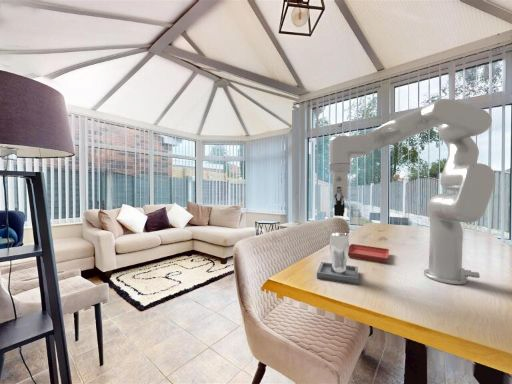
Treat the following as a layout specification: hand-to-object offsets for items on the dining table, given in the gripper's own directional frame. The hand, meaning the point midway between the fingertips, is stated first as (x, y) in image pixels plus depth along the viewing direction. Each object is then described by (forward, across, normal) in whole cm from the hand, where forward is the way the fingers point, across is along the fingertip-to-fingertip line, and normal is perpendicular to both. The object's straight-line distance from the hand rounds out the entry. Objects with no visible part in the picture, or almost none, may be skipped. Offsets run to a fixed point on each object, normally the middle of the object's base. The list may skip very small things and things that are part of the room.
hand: (339, 214), depth 87 cm
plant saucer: (+24, +32, -12) cm, 42 cm away
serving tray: (+23, 0, 0) cm, 23 cm away
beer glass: (+23, 0, 0) cm, 23 cm away
